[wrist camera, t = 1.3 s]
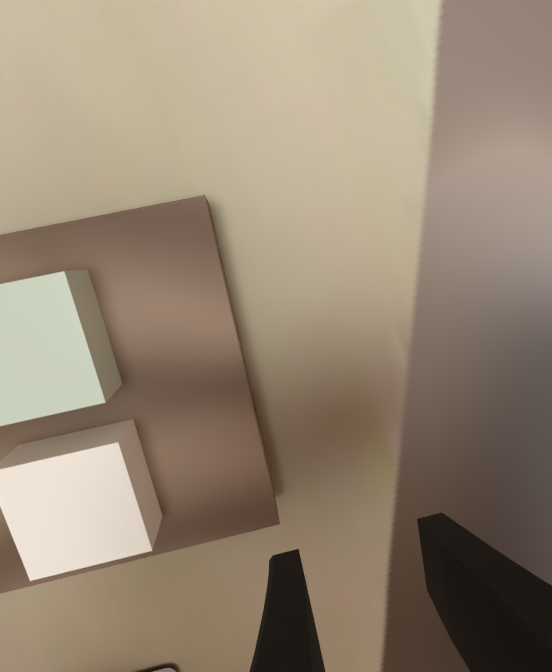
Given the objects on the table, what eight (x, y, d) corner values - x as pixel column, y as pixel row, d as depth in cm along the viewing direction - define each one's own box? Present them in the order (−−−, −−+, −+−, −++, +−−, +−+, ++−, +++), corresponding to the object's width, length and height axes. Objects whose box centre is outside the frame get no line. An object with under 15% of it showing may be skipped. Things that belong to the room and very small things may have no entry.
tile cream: (162, 515, 16) (152, 550, 14) (55, 541, 16) (30, 581, 14) (133, 418, 15) (118, 442, 13) (18, 445, 15) (-14, 472, 13)
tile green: (122, 384, 15) (105, 402, 13) (5, 409, 15) (-30, 432, 13) (88, 269, 14) (64, 271, 12) (-38, 295, 14) (-83, 300, 12)
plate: (275, 496, 19) (279, 523, 17) (-16, 567, 18) (-46, 604, 16) (208, 203, 16) (204, 195, 14) (-143, 271, 15) (-199, 273, 13)
